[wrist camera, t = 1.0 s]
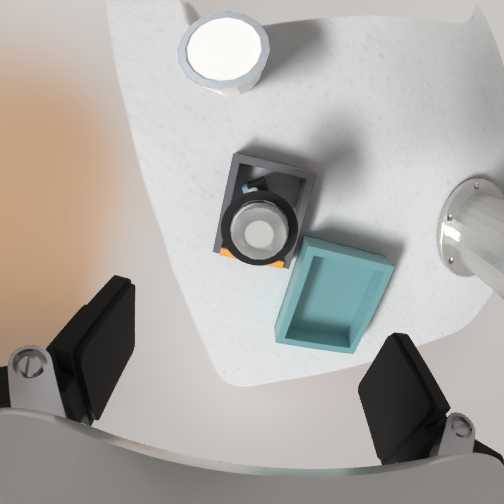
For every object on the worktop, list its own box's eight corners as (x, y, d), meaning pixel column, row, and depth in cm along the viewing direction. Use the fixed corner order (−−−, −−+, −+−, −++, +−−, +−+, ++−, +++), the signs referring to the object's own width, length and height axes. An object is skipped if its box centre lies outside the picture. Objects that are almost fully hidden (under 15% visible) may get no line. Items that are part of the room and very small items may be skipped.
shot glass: (188, 52, 23) (167, 29, 16) (255, 30, 22) (253, 1, 15) (208, 111, 25) (191, 102, 19) (277, 90, 24) (282, 74, 18)
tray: (384, 255, 30) (394, 267, 27) (347, 338, 34) (353, 353, 31) (303, 235, 29) (308, 245, 27) (274, 326, 34) (275, 342, 31)
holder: (312, 171, 27) (316, 174, 25) (287, 260, 31) (289, 270, 28) (235, 152, 27) (233, 153, 24) (216, 244, 30) (212, 253, 28)
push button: (299, 229, 29) (315, 272, 20) (250, 247, 30) (244, 296, 21) (276, 167, 27) (283, 182, 18) (224, 187, 28) (205, 212, 19)
